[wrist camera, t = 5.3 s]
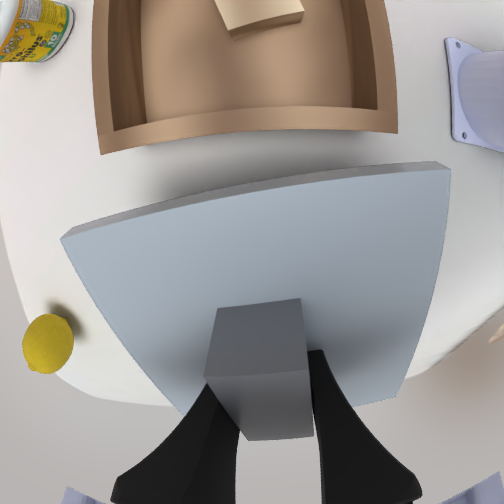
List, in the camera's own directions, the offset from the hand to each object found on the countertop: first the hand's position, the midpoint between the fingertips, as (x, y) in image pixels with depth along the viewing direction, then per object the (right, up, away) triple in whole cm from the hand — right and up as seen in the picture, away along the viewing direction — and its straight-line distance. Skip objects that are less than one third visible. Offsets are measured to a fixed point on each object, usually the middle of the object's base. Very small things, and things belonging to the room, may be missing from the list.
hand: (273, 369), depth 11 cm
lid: (0, +2, +2) cm, 3 cm away
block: (-1, +19, 0) cm, 19 cm away
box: (-2, +19, +1) cm, 19 cm away
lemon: (-22, -3, +14) cm, 26 cm away
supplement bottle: (-17, +23, 0) cm, 28 cm away
